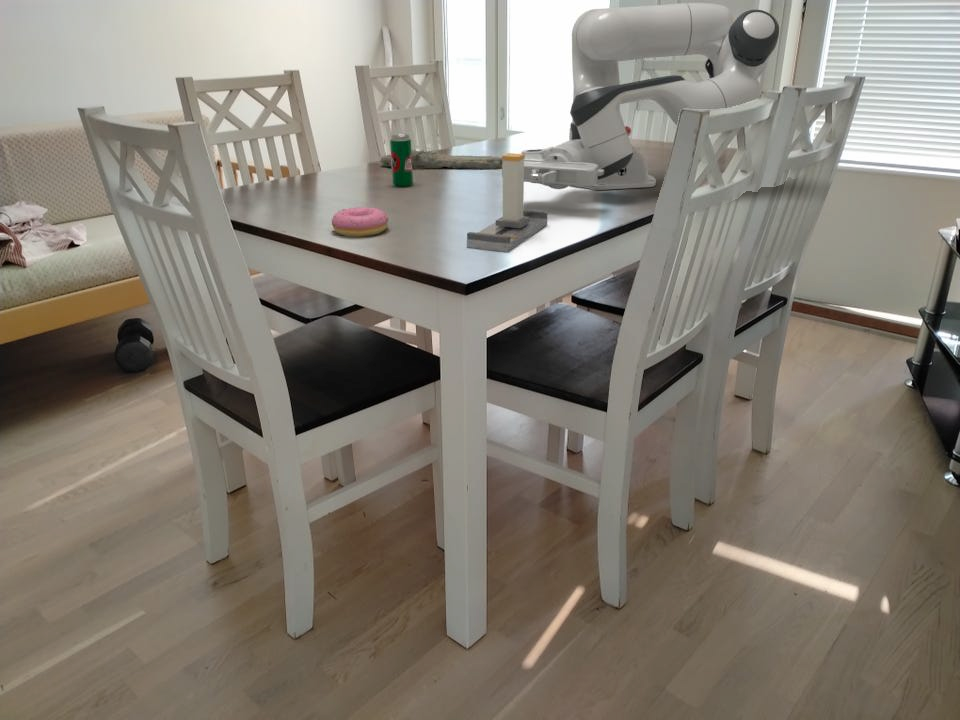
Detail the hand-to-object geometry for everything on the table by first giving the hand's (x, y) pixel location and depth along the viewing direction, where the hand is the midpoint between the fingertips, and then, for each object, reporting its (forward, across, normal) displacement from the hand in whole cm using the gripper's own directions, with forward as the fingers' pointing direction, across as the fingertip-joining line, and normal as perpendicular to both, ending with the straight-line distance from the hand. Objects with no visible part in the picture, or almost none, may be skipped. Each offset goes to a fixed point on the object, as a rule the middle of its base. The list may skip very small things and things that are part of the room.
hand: (537, 179), depth 147 cm
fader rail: (+14, 0, -8) cm, 16 cm away
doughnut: (+22, +28, -8) cm, 37 cm away
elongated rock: (-45, +45, -8) cm, 64 cm away
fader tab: (+12, 0, -6) cm, 14 cm away
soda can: (-18, +42, -8) cm, 47 cm away
